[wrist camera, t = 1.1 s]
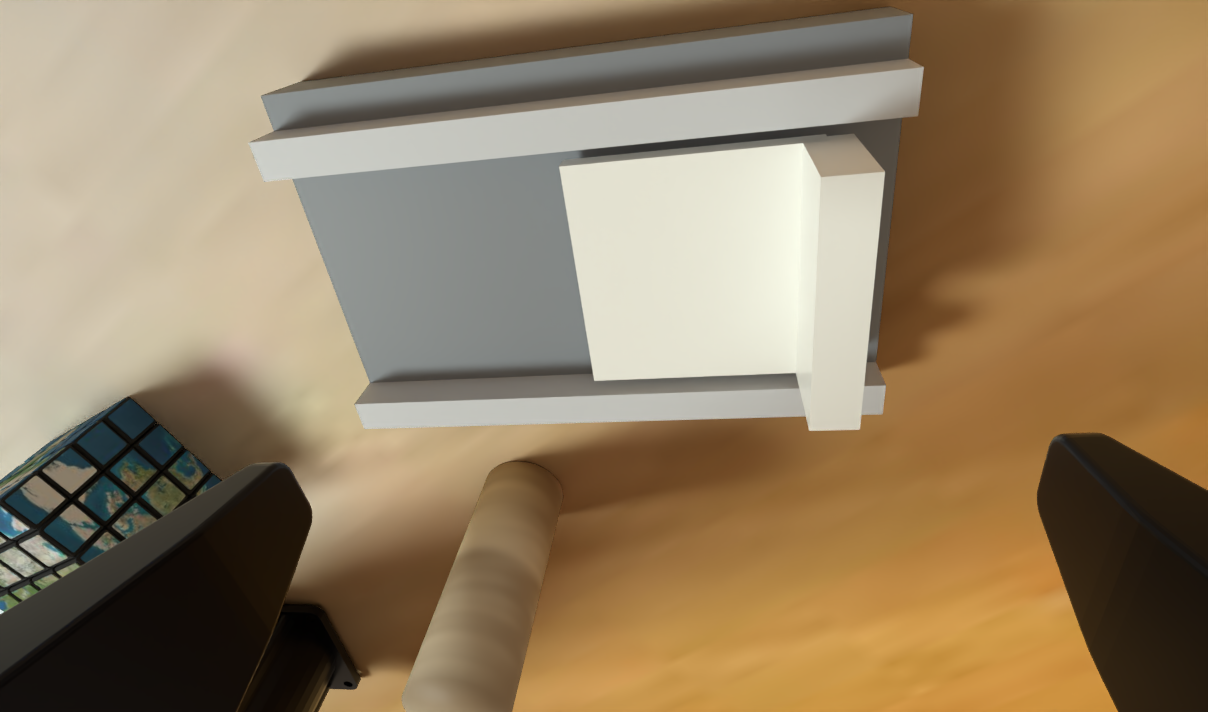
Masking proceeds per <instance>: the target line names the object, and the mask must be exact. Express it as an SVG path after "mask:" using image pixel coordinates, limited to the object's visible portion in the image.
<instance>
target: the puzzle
mask: <svg viewBox="0 0 1208 712" xmlns="http://www.w3.org/2000/svg"><path fill="white" fill-rule="evenodd" d="M155 423H156V421H155V420H154V419H153V418H152V417H151V416H149V415H148V414H147V413H146V412H145V411H144V410H143V409H142V408H141V407H140V406H139V405H138V404H136V403H135V402H134V401H133V400H132V399H131V398H127V399H126V398H124V399H123V400H121V401H119V402H118V403H116V404H114V405H112V406H111V407H109V408H108V409H106V410H105V411H102V412H101V413H99V414H97V415H95V416H94V417H92V418H90V419H89V420H87V421H86V422H84V423H82V424H80V425H78V426H77V427H75V428H73V429H71V430H70V431H68V432H67V433H65V434H64V435H61V436H59V437H58V438H56V439H54V440H53V441H51V442H49V443H48V444H46V445H45V446H44V447H42V448H41V449H40V450H39V451H37V452H36V453H35V454H33V455H32V456H31V457H30V458H28V459H27V460H26V461H24V462H25V463H23V464H22V465H20V466H18V467H17V468H15V469H14V470H13V471H12V472H10V473H9V474H8V475H6V476H5V477H4V478H3V479H1V480H0V609H1V610H2V611H4V612H5V611H7V610H8V609H10V608H12V607H13V606H15V605H17V604H18V603H20V602H22V601H23V600H25V599H27V598H28V597H30V596H32V595H33V594H35V593H37V592H38V591H40V590H42V589H43V588H45V587H47V586H48V585H50V584H52V583H53V582H55V581H57V580H58V579H60V578H62V577H63V576H65V575H67V574H68V573H70V572H72V571H73V570H75V569H77V568H78V567H80V566H82V565H83V564H85V563H87V562H88V561H90V560H92V559H93V558H95V557H97V556H98V555H100V554H102V553H103V552H105V551H107V550H108V549H110V548H112V547H113V546H115V545H117V544H118V543H120V542H122V541H123V540H125V539H127V538H128V537H130V536H132V535H133V534H135V533H137V532H138V531H140V530H142V529H143V528H145V527H147V526H148V525H150V524H152V523H153V522H155V521H157V520H158V519H160V518H162V517H163V516H165V515H167V514H168V513H170V512H172V511H173V510H175V509H177V508H178V507H180V506H182V505H183V504H185V503H187V502H188V501H190V500H192V499H193V498H195V497H197V496H198V495H200V494H202V493H203V492H205V491H207V490H208V489H210V488H212V487H213V486H215V485H217V484H218V483H220V482H222V481H221V480H220V479H218V478H217V477H216V476H215V475H214V474H210V470H209V469H207V468H206V467H205V466H204V465H203V464H202V463H201V462H200V461H199V460H198V459H197V458H195V457H194V456H193V455H192V454H191V453H190V452H189V451H188V450H183V451H181V450H182V449H183V448H184V447H183V446H182V445H181V444H180V443H179V442H178V441H177V440H176V439H175V438H174V437H173V436H171V435H170V434H169V433H168V432H167V431H166V430H165V429H164V428H163V427H162V426H161V425H160V424H156V425H155V426H153V425H154V424H155ZM152 426H153V427H152ZM209 474H210V475H209Z"/></svg>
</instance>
